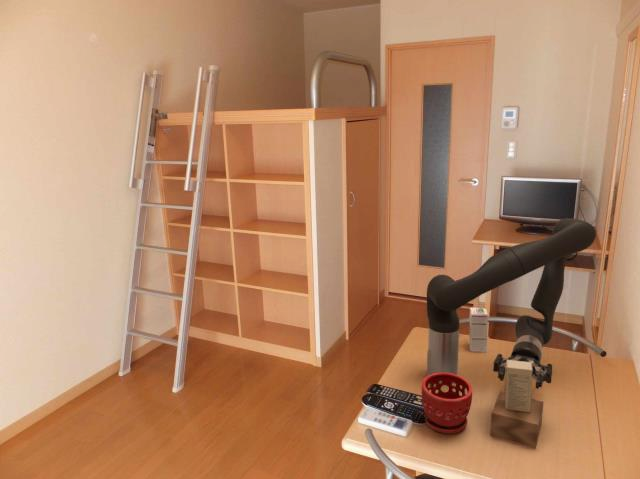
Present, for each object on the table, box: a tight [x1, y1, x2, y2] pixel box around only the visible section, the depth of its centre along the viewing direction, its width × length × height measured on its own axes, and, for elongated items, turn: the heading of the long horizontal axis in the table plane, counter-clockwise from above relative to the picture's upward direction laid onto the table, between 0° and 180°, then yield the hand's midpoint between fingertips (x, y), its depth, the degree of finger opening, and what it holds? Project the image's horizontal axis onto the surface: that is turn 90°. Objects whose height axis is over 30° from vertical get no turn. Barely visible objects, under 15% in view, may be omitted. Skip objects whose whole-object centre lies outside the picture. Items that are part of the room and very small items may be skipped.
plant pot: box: [421, 372, 473, 434], centre depth 130 cm, size 13×13×12 cm
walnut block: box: [489, 390, 544, 449], centre depth 127 cm, size 11×11×7 cm
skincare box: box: [504, 360, 533, 412], centre depth 125 cm, size 6×4×12 cm
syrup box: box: [468, 307, 489, 353], centre depth 169 cm, size 6×6×14 cm
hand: (519, 381), depth 122 cm, fingers open, 8 cm apart
